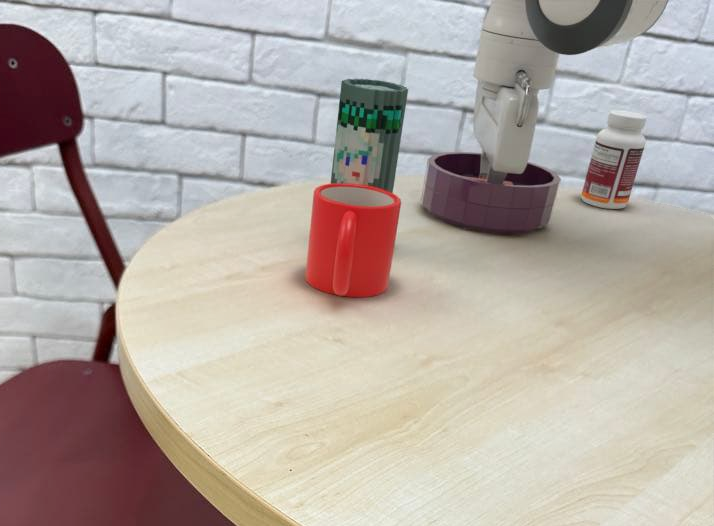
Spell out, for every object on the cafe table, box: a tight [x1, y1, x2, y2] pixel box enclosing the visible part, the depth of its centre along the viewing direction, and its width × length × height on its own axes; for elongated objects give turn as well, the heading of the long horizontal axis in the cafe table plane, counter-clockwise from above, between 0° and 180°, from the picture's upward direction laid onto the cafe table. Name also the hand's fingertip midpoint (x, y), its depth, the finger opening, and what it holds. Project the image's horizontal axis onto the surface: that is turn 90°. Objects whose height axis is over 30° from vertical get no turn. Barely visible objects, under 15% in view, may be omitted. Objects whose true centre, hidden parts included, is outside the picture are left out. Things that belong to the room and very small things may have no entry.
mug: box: [305, 183, 402, 298], centre depth 76 cm, size 8×12×8 cm, turn 174°
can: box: [330, 78, 409, 194], centre depth 85 cm, size 6×6×15 cm
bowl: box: [420, 151, 562, 235], centre depth 102 cm, size 16×16×6 cm
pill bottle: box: [580, 109, 648, 210], centre depth 111 cm, size 6×6×11 cm
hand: (487, 194), depth 102 cm, fingers closed on eraser, 3 cm apart
